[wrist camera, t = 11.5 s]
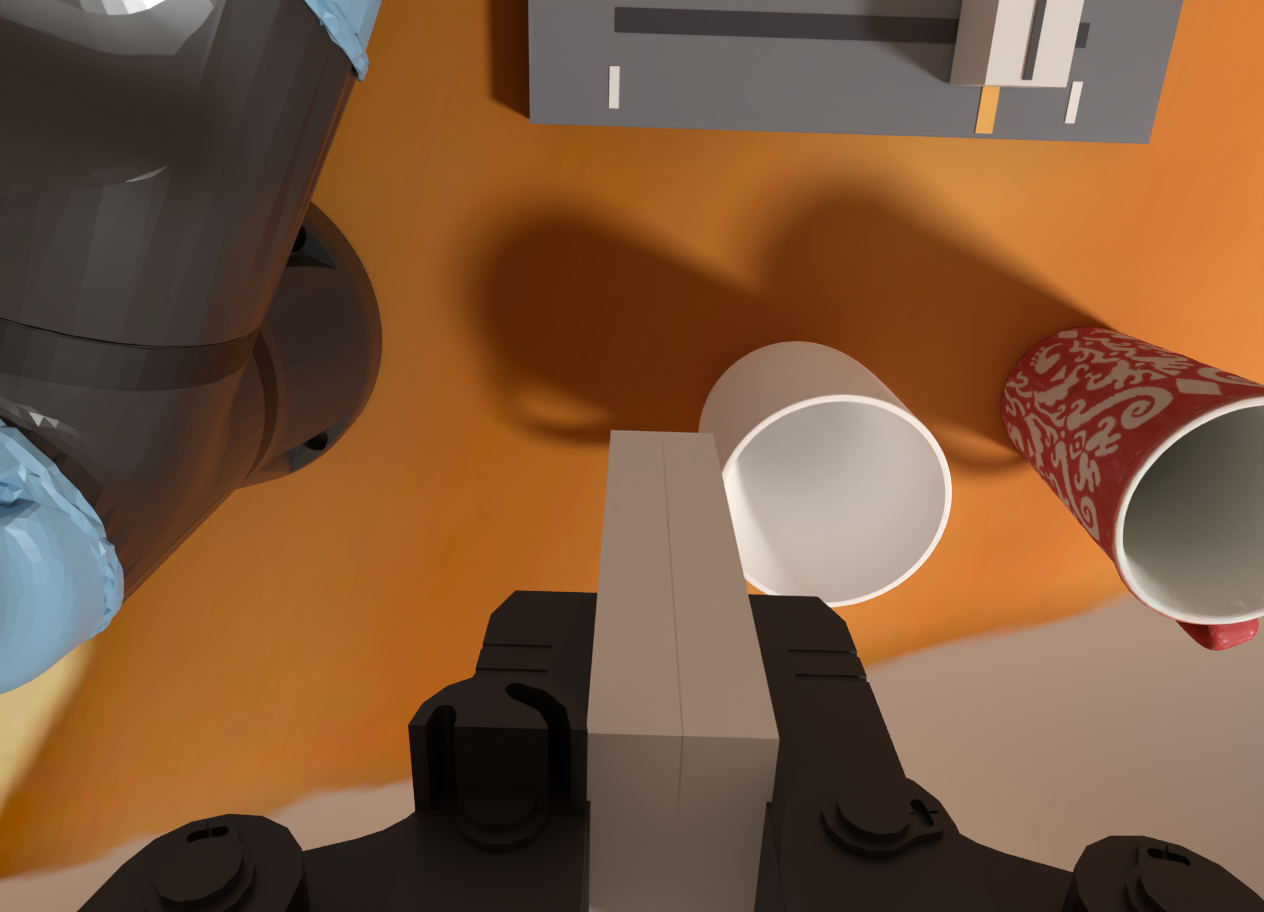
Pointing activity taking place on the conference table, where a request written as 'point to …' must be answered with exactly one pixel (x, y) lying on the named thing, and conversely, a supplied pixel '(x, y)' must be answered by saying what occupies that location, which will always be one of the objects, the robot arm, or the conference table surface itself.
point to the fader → (1015, 43)
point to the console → (833, 69)
